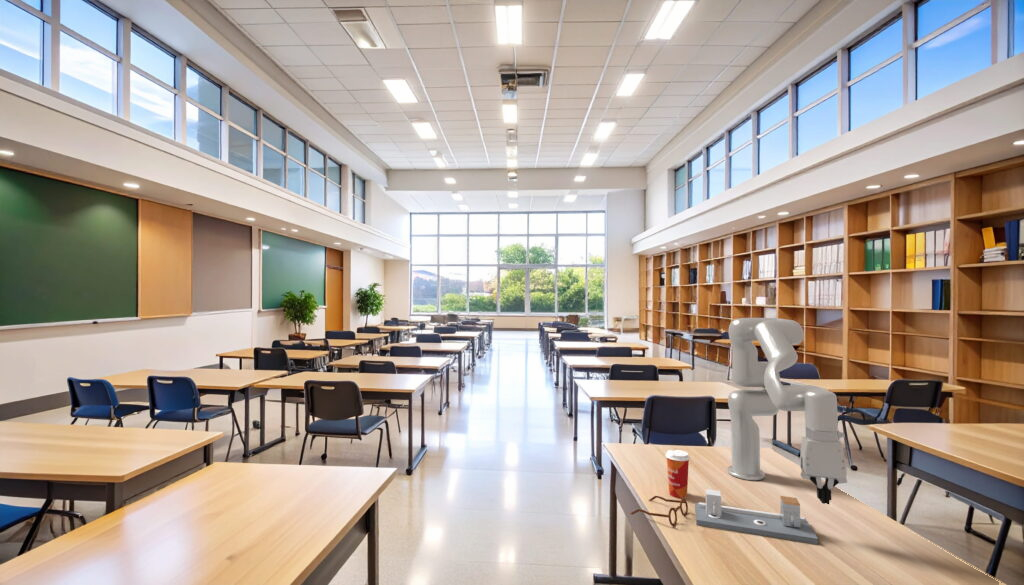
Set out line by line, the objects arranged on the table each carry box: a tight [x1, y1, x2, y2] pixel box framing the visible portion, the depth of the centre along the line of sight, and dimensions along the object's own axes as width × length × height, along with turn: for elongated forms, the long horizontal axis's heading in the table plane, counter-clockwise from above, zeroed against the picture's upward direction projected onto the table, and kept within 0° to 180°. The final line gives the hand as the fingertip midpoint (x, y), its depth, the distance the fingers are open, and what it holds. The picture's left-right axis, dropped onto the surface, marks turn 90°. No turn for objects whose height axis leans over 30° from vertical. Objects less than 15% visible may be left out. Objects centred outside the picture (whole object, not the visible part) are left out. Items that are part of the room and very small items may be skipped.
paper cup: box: [665, 449, 691, 499], centre depth 149 cm, size 8×8×14 cm
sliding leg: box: [779, 495, 801, 528], centre depth 125 cm, size 5×4×7 cm
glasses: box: [629, 495, 689, 527], centre depth 136 cm, size 13×13×5 cm
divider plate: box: [694, 488, 819, 545], centre depth 129 cm, size 12×30×8 cm, turn 69°
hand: (824, 501), depth 122 cm, fingers closed
